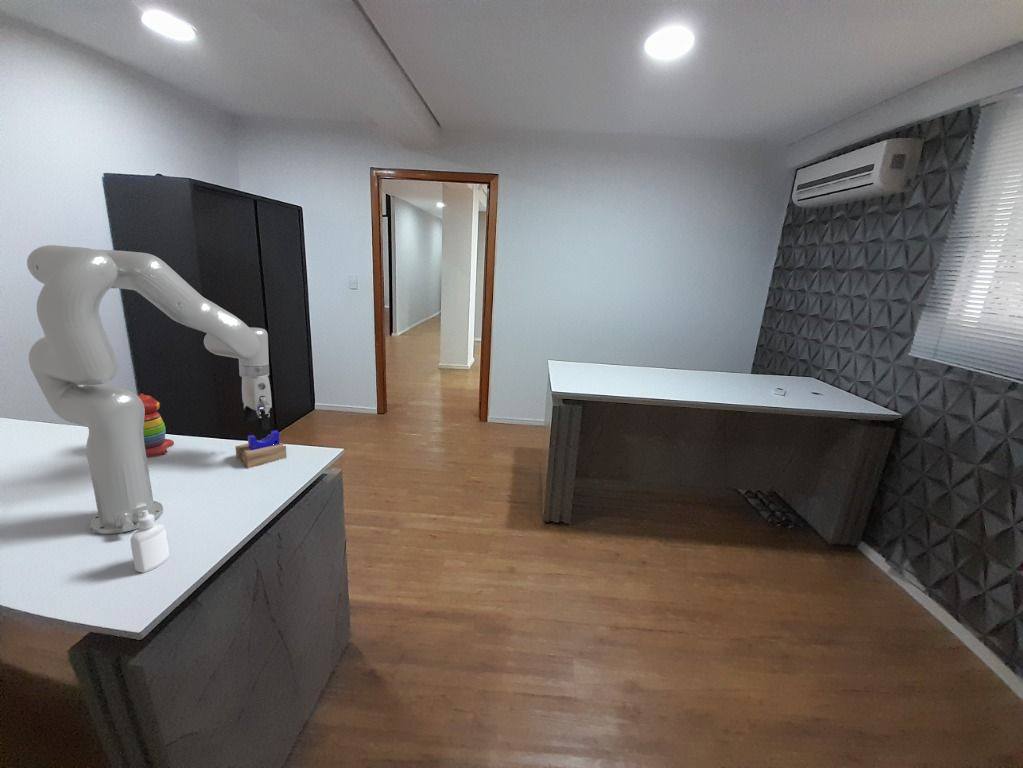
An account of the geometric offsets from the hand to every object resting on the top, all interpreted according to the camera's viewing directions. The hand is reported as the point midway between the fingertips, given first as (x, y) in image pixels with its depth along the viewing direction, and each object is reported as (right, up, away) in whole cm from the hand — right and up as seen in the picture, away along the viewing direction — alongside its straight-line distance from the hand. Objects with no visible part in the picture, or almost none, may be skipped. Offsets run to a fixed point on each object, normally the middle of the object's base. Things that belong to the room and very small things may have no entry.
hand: (256, 425), depth 130 cm
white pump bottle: (+5, -24, -44) cm, 50 cm away
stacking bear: (-35, -8, +3) cm, 36 cm away
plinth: (-1, -10, +4) cm, 11 cm away
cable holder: (0, -7, +3) cm, 7 cm away
